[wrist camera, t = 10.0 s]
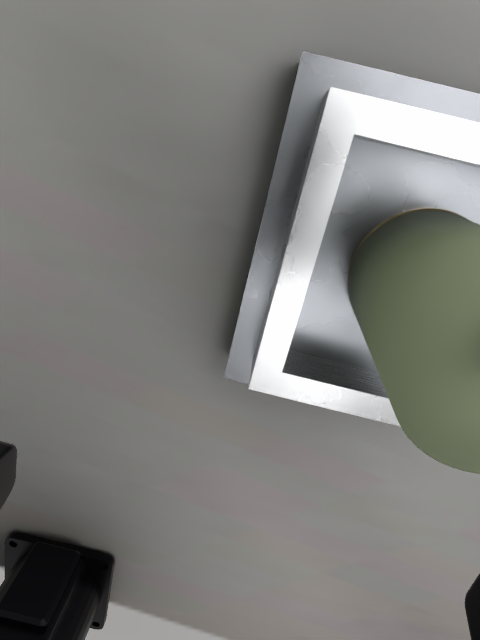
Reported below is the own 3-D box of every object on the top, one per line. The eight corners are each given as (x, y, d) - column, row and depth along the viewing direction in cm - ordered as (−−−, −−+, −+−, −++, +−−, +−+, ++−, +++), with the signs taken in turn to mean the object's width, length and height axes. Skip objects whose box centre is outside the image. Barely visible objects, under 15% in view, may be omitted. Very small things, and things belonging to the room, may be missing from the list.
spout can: (457, 357, 16) (633, 577, 8) (330, 326, 16) (375, 513, 8) (519, 229, 14) (834, 347, 6) (374, 194, 14) (494, 265, 6)
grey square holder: (482, 418, 20) (528, 481, 16) (229, 356, 20) (216, 404, 16) (633, 142, 15) (746, 142, 11) (300, 62, 15) (305, 36, 11)
